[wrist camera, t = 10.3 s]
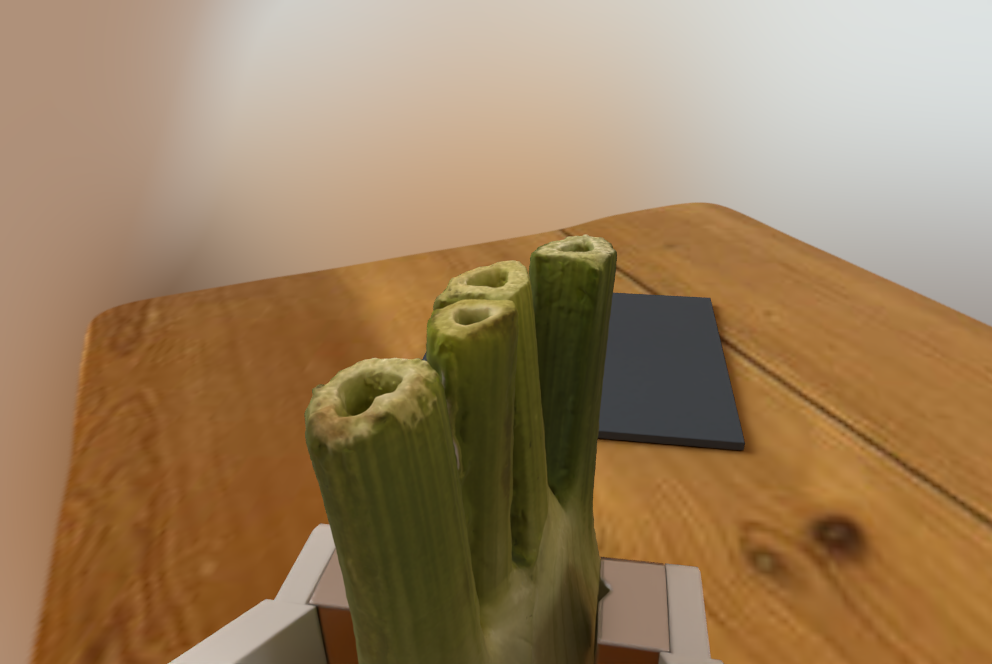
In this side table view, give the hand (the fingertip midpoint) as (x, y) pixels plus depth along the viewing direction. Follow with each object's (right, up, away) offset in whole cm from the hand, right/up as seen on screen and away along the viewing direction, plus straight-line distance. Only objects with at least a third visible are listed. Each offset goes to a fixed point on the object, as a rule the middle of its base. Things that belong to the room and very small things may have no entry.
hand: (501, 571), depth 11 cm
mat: (+4, +3, +22) cm, 23 cm away
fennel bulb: (0, -6, +2) cm, 7 cm away
